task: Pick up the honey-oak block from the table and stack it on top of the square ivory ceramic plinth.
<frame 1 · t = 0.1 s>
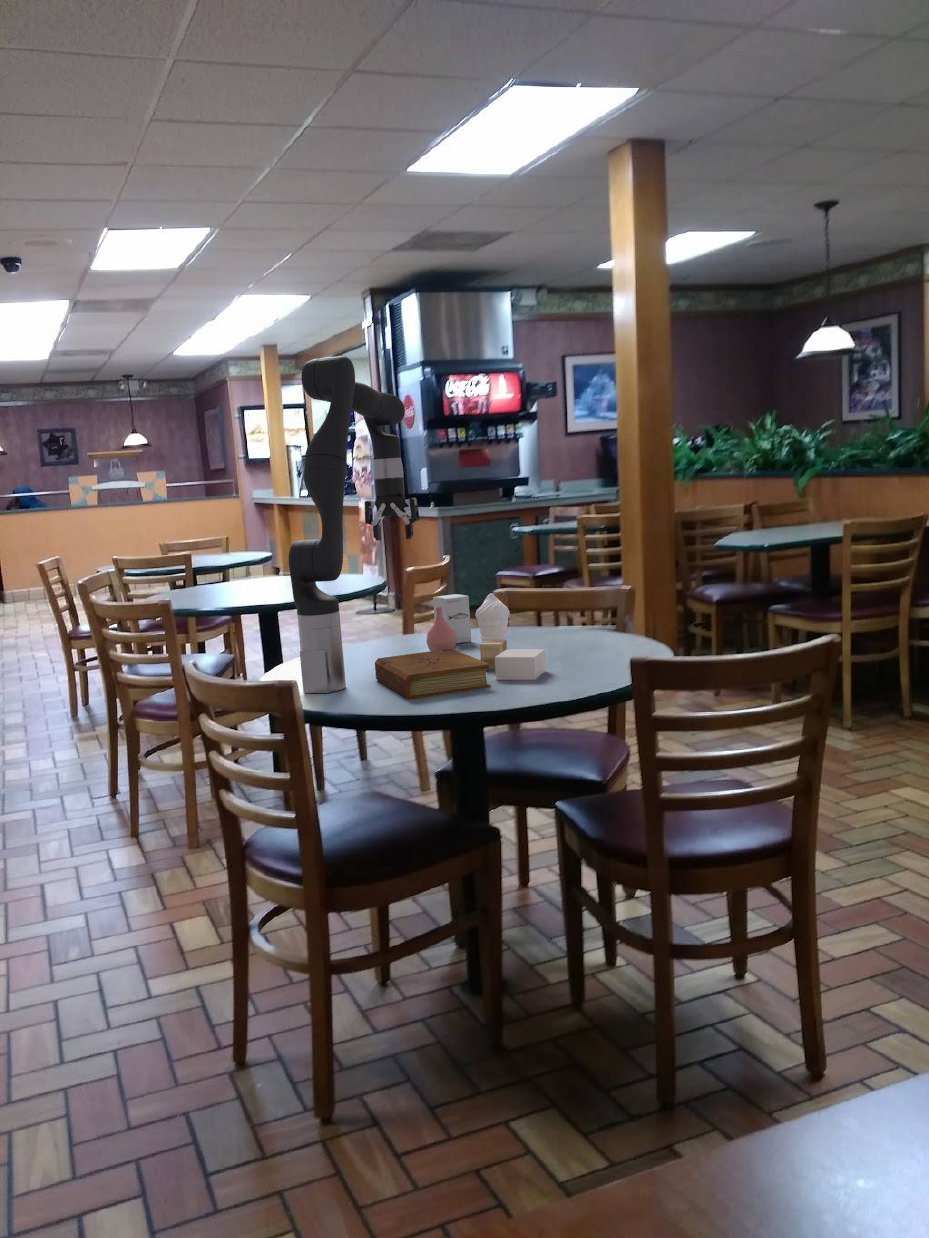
hand: (393, 539, 264), 29 cm above the table, tool pointing down, fingers open, 8 cm apart
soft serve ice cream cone: (495, 659, 249), on the table
oak block: (494, 667, 239), on the table
plinth: (521, 675, 227), on the table
supplement box: (453, 642, 277), on the table
pink vase: (442, 654, 260), on the table
diary: (431, 686, 225), on the table
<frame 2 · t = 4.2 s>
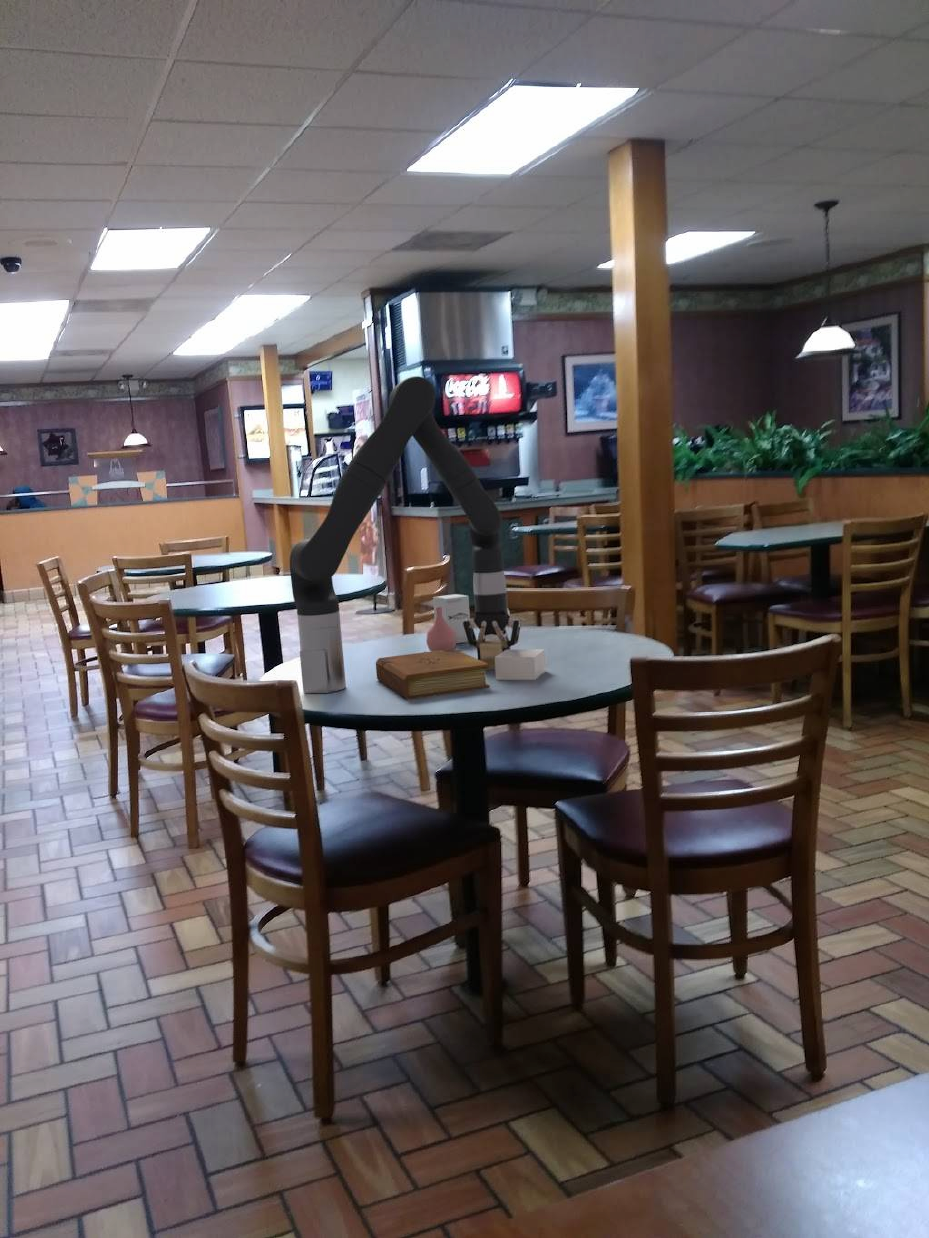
hand: (494, 662, 238), 1 cm above the table, tool pointing down, fingers closed on oak block, 5 cm apart
oak block: (494, 667, 239), on the table, touching gripper
everything else where it was.
when the fingers open (7 cm above the table, at t = 8.8 s): oak block drops 1 cm, resting on plinth.
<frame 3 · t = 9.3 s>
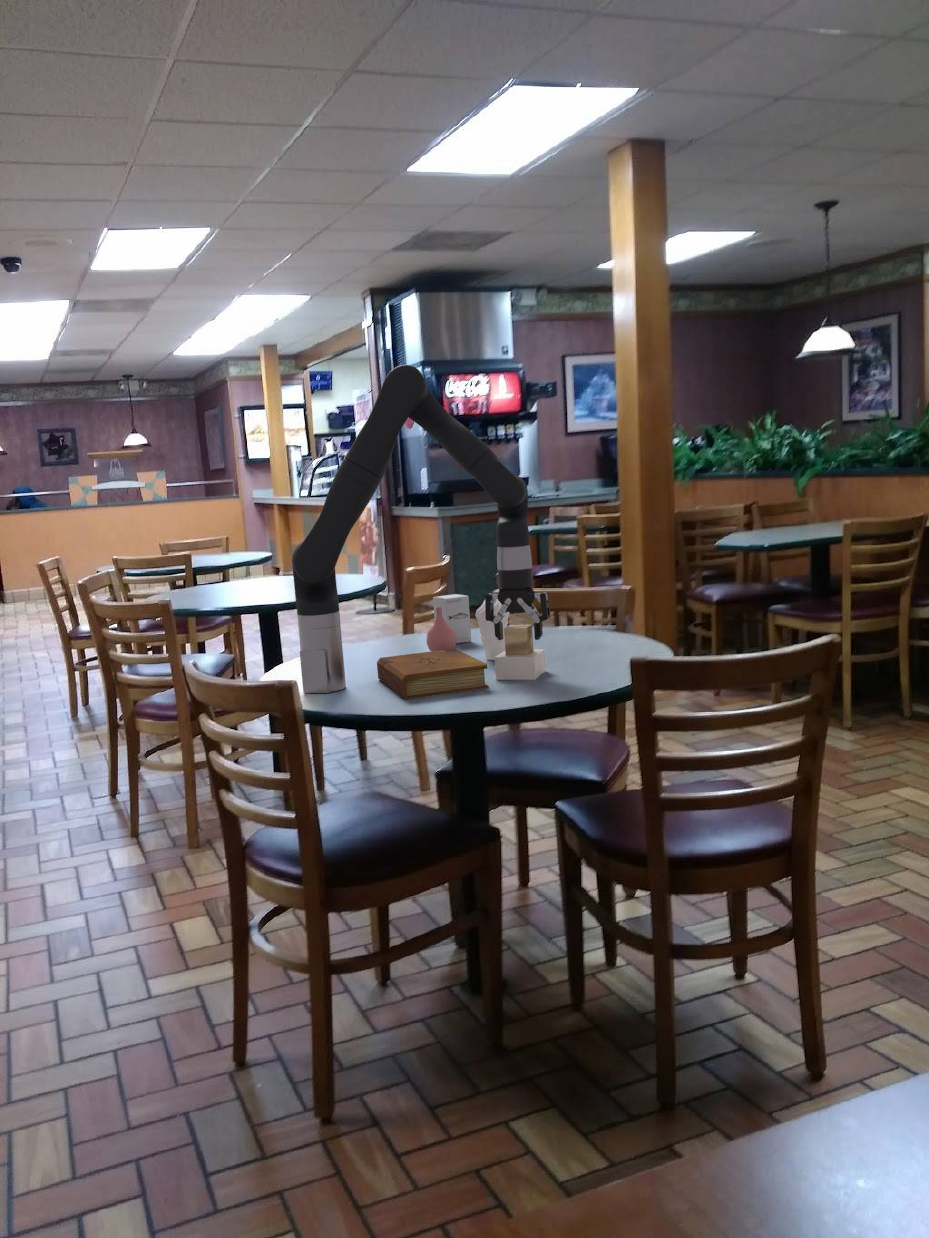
hand: (519, 639, 226), 8 cm above the table, tool pointing down, fingers open, 8 cm apart
oak block: (519, 653, 226), point 5 cm above the table, touching plinth
everything else where it was.
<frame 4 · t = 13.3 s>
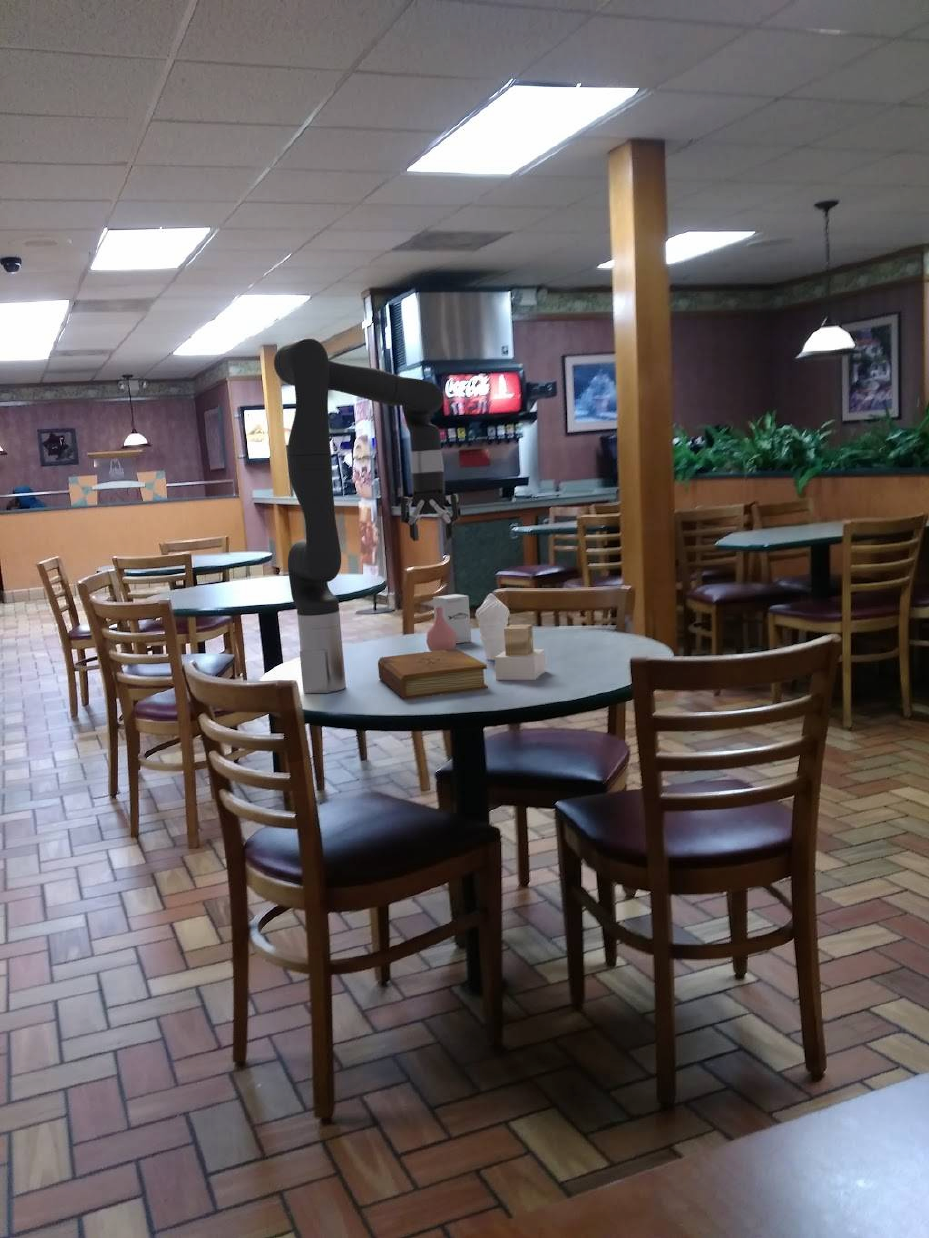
hand: (432, 540, 241), 30 cm above the table, tool pointing down, fingers open, 8 cm apart
nothing on the table moved.
at the end: oak block 0.1 cm off-centre on the plinth, point 5.0 cm above the plinth's base; oak block tilted 0°; the gripper is holding nothing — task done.
